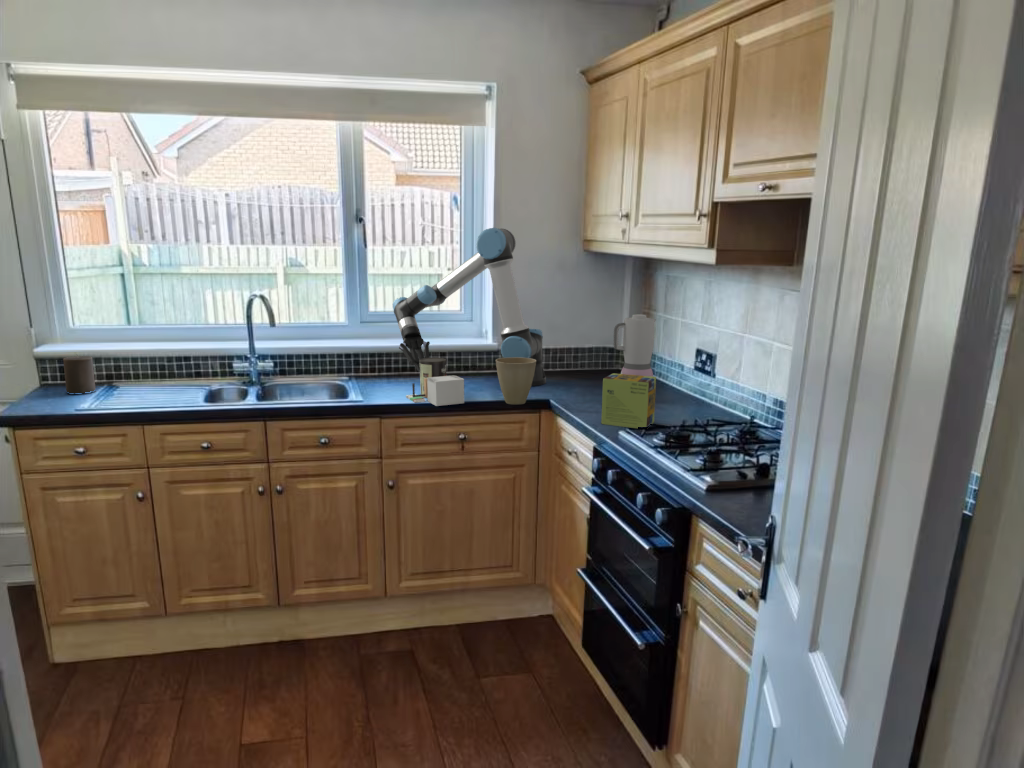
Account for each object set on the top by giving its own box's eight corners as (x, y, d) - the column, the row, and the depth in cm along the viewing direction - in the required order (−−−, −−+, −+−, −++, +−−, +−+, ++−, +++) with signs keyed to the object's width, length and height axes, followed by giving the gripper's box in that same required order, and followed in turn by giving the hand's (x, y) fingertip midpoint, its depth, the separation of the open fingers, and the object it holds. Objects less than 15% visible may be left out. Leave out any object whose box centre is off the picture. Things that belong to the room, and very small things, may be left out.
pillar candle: (73, 396, 263) (68, 357, 260) (62, 392, 269) (58, 354, 266) (100, 392, 271) (96, 354, 268) (89, 388, 276) (85, 351, 273)
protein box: (647, 429, 221) (649, 382, 218) (600, 424, 227) (602, 377, 224) (654, 422, 230) (657, 376, 227) (610, 417, 237) (611, 372, 234)
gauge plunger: (451, 394, 266) (451, 376, 265) (459, 398, 259) (459, 379, 258) (412, 398, 259) (411, 379, 257) (419, 402, 252) (419, 383, 251)
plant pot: (541, 405, 253) (542, 362, 250) (503, 408, 248) (503, 364, 245) (527, 396, 267) (527, 355, 264) (490, 399, 262) (490, 357, 259)
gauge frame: (444, 393, 272) (444, 370, 270) (464, 403, 256) (464, 379, 254) (405, 397, 265) (405, 374, 263) (423, 407, 249) (422, 382, 247)
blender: (647, 395, 270) (650, 313, 264) (656, 402, 259) (661, 316, 252) (607, 396, 269) (610, 313, 262) (615, 403, 257) (618, 317, 250)
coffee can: (448, 392, 273) (448, 357, 270) (444, 398, 263) (444, 362, 260) (422, 392, 273) (421, 357, 271) (417, 398, 263) (417, 361, 260)
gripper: (422, 335, 291) (438, 381, 280) (392, 337, 285) (407, 384, 274) (426, 324, 285) (442, 370, 274) (396, 325, 279) (411, 373, 268)
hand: (425, 377), depth 274 cm, fingers closed
